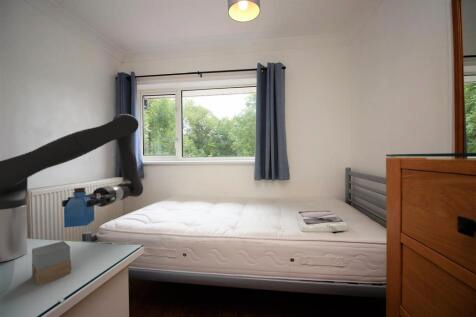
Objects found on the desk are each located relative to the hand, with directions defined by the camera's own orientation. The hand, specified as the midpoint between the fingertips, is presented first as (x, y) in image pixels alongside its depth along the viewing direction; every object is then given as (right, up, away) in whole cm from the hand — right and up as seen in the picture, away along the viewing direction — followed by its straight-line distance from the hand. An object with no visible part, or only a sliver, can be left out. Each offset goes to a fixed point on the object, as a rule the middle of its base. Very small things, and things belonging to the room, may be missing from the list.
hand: (75, 204), depth 68 cm
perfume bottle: (0, -7, +2) cm, 8 cm away
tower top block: (0, -15, -9) cm, 17 cm away
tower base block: (0, -19, -9) cm, 21 cm away
